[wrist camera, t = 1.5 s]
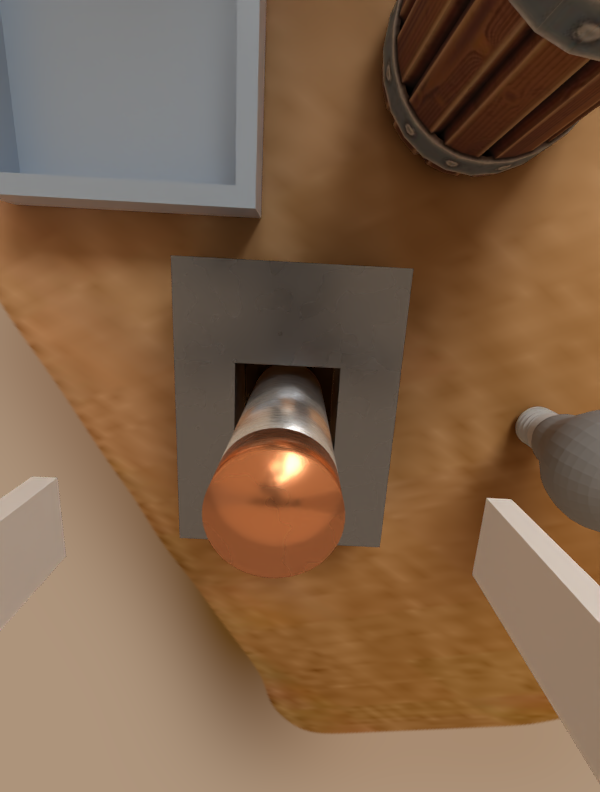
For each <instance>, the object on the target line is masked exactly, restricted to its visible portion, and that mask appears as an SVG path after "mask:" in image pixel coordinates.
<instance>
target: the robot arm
mask: <svg viewBox="0 0 600 792" xmlns="http://www.w3.org/2000/svg"><path fill="white" fill-rule="evenodd" d="M65 557H66V551H65V542H64V533H63V523H62V514H61V505H60V496H59V487H58V478H54V477H34V476H32V477H31V478H29V479H28V480H26V481H25V482H23V483H22V484H20V485H19V486H18V487H16V488H15V489H13V490H12V491H10V492H9V493H7V494H6V495H4V496H3V497H2V498H0V630H1V629H2V628H3V627H4V626H5V624H7V623H8V621H9V620H10V619H11V618H12V617H13V616H14V615H15V613H16V612H17V611H18V610H19V609H20V608H21V607H22V606H23V604H24V603H25V602H26V601H27V600H28V599H29V598H30V596H31V595H32V594H33V593H34V592H35V591H36V590H37V589H38V587H39V586H40V585H41V584H42V583H43V582H44V581H45V580H46V578H47V577H48V576H49V575H50V574H51V572H52V571H54V569H55V568H56V567H57V566H58V565H59V564H60V563H61V561H62V560H63V559H64V558H65ZM472 575H473V577H474V578H475V580H476V582H477V583H478V585H479V586H480V588H481V590H482V591H483V593H484V595H485V596H486V598H487V600H488V601H489V603H490V605H491V606H492V608H493V610H494V611H495V613H496V614H497V616H498V618H499V619H500V621H501V623H502V624H503V626H504V628H505V629H506V631H507V633H508V634H509V636H510V637H511V639H512V641H513V642H514V644H515V646H516V647H517V649H518V651H519V652H520V654H521V656H522V657H523V659H524V660H525V662H526V664H527V665H528V667H529V669H530V670H531V672H532V674H533V675H534V677H535V679H536V680H537V682H538V683H539V685H540V687H541V688H542V690H543V692H544V693H545V695H546V697H547V698H548V700H549V702H550V703H551V705H552V706H553V708H554V710H555V711H556V713H557V715H558V716H559V718H560V720H561V721H562V723H563V724H564V726H565V728H566V729H567V731H568V732H569V734H570V736H571V738H572V739H573V741H574V743H575V744H576V746H577V748H578V749H579V751H580V752H581V754H582V756H583V757H584V759H585V761H586V762H587V764H588V766H589V767H590V769H591V771H592V772H593V774H594V775H595V777H596V779H597V780H598V782H599V784H600V586H599V585H598V584H597V583H596V582H595V581H594V580H593V579H592V578H591V577H590V576H589V575H588V574H587V573H586V572H585V571H584V570H583V569H582V568H581V567H580V566H579V565H578V564H577V563H576V562H575V561H574V560H573V559H572V558H571V557H570V556H569V555H568V554H566V553H565V552H564V551H563V550H562V549H561V548H560V547H559V546H558V545H557V544H556V543H555V542H554V541H553V540H552V539H551V538H550V537H549V536H548V535H547V534H546V533H545V532H544V531H543V530H542V529H541V528H540V527H539V526H538V525H537V524H536V523H535V522H534V521H533V520H532V519H531V518H530V517H529V516H528V515H527V514H526V513H525V512H524V511H523V510H522V509H521V508H520V507H519V506H518V505H517V504H516V503H515V502H514V501H513V500H512V499H497V498H486V504H485V509H484V514H483V520H482V525H481V530H480V536H479V541H478V546H477V552H476V557H475V562H474V568H473V573H472Z"/></svg>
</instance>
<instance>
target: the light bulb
mask: <svg viewBox="0 0 600 792" xmlns="http://www.w3.org/2000/svg"><path fill="white" fill-rule="evenodd" d="M515 429H516V434H517V436H518V438H519V439H520V440H521V441H522V442H524V443H525V444H527V445H528V446H529V447H531V448H532V450H533V452H534V454H535V456H536V458H537V459H538V460H539V465H540V474H541V480H542V483H543V485H544V488H545V490H546V491H547V493H548V495H549V496H550V498H551V499H552V501H553V502H554V504H555V505H556V506H557V507H558V508H559V509H560V510H561V511H562V512H563V513H564V514H565V515H567V516H568V517H569V518H570V519H572V520H573V521H575V522H577V523H578V524H580V525H582V526H584V527H586V528H589V529H592V530H595V531H598V532H600V410H596V411H591V412H587V413H583V414H579V415H576V416H574V415H569V414H557V413H555V412H553V411H551V410H549V409H547V408H544V407H532V408H529V409H527V410H526V411H524V412H523V413H522V414H521V415H520V416H519V418H518V420H517V422H516V428H515Z"/></svg>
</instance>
